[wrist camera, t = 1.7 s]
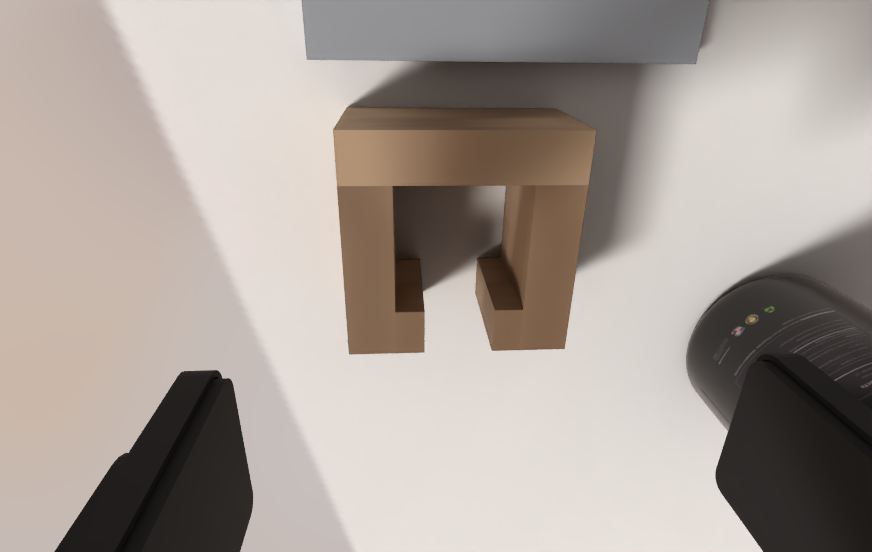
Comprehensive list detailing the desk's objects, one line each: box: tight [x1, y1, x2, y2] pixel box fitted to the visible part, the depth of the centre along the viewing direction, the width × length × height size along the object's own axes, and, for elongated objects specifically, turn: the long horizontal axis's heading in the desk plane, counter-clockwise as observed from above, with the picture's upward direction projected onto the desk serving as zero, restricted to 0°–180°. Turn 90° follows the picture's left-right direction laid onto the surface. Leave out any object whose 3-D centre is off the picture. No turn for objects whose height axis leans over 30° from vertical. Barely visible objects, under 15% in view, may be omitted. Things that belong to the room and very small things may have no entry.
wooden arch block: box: [333, 107, 597, 354], centre depth 17 cm, size 7×7×4 cm
